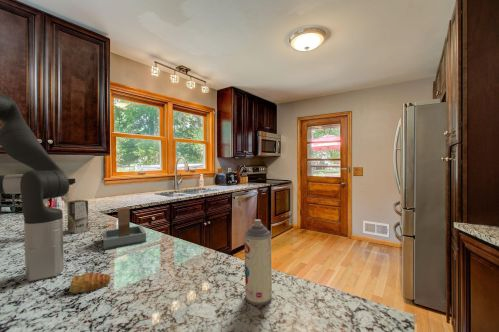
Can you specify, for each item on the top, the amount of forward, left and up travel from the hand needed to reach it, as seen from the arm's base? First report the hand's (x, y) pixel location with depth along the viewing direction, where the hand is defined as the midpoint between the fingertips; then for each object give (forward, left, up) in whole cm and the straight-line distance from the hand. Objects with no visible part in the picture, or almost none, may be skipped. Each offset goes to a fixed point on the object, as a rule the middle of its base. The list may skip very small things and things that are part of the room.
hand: (74, 181), depth 98 cm
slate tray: (-5, -18, -28) cm, 34 cm away
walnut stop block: (-5, -18, -27) cm, 33 cm away
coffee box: (+28, +1, -28) cm, 40 cm away
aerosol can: (-76, -43, -28) cm, 92 cm away
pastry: (-44, -6, -29) cm, 53 cm away
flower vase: (+26, +14, -28) cm, 41 cm away
